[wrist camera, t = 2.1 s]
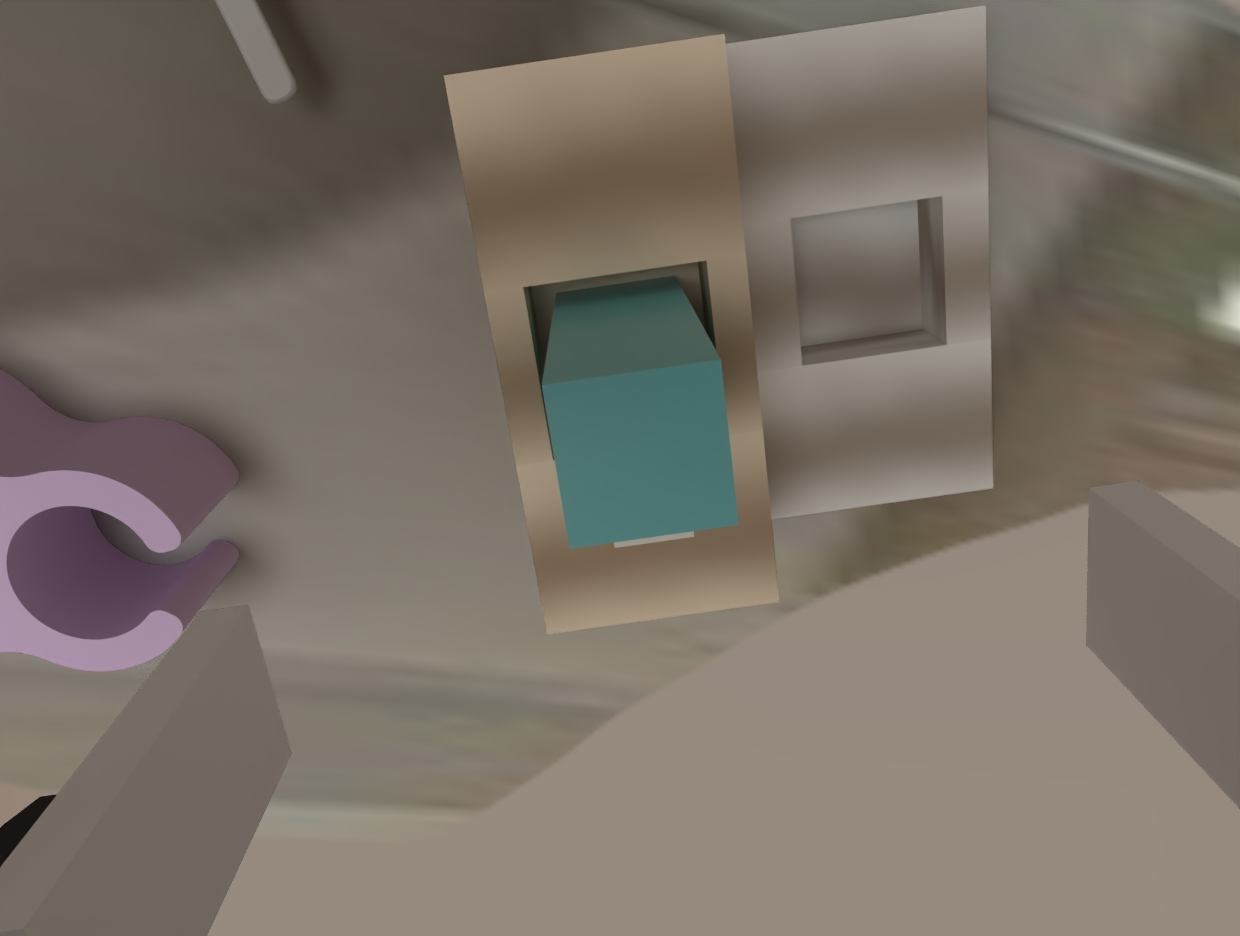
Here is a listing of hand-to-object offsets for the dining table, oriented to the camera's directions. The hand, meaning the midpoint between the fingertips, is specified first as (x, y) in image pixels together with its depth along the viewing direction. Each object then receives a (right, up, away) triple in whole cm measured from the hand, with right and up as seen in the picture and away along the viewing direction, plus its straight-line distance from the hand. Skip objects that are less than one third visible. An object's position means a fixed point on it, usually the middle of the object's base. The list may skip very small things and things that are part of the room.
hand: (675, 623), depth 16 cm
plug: (-1, +7, +18) cm, 20 cm away
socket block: (+4, +10, +26) cm, 28 cm away
